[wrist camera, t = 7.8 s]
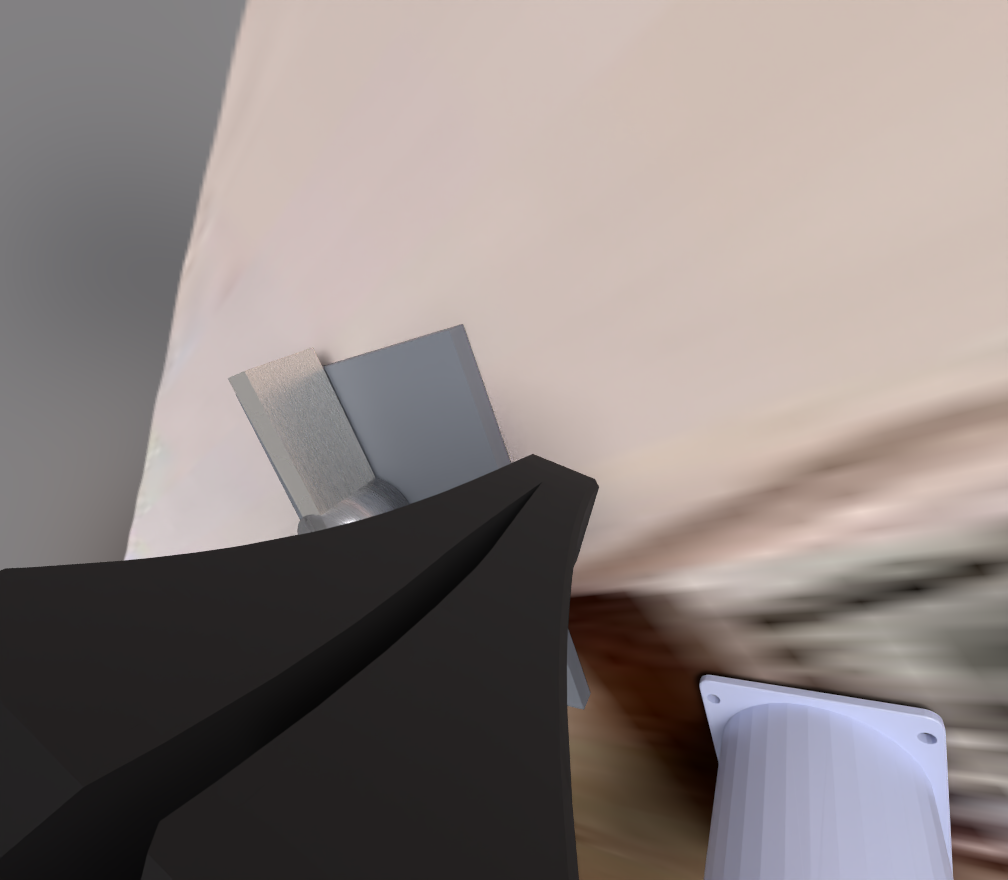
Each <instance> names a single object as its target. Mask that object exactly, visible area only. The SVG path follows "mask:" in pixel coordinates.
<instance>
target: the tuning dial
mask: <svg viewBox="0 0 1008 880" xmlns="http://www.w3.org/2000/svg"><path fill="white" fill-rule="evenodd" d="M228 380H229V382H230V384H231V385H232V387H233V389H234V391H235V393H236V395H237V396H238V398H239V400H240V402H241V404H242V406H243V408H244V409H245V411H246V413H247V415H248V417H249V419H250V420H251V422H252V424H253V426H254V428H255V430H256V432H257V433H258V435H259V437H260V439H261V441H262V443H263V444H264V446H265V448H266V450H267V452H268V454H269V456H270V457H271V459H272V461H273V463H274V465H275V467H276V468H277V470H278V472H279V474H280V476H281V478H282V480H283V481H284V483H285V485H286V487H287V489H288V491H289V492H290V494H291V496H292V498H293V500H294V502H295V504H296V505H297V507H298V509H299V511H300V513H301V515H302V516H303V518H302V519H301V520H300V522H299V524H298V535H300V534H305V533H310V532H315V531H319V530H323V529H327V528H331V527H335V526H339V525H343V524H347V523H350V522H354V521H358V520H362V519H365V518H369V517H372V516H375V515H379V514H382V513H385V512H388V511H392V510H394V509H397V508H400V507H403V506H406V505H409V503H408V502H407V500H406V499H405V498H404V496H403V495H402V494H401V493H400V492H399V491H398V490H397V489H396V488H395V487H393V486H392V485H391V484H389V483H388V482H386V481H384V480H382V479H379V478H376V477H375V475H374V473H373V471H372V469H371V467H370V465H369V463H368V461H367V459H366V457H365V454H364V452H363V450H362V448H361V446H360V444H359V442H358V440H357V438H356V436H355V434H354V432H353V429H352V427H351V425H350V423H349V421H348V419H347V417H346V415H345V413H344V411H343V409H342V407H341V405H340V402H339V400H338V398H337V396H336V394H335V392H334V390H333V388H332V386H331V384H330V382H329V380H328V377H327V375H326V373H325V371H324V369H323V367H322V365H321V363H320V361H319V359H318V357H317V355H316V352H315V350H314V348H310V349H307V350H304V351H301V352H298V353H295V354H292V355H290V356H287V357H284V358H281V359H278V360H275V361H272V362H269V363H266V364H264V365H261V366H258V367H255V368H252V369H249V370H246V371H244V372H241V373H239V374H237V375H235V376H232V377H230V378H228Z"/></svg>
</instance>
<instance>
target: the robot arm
mask: <svg viewBox="0 0 1008 880" xmlns="http://www.w3.org/2000/svg"><path fill="white" fill-rule="evenodd" d="M598 489H599V486H598V484H597V482H596V480H595V479H593V478H591V477H588V476H586V475H583V474H581V473H578V472H576V471H574V470H571V469H569V468H566V467H564V466H561V465H559V464H556V463H554V462H551V461H549V460H546V459H544V458H542V457H539V456H537V455H534V454H532V455H530V456H527V457H525V458H523V459H520V460H518V461H515V462H513V463H511V464H508V465H506V466H504V467H502V468H499V469H497V470H495V471H492V472H490V473H488V474H485V475H483V476H481V477H479V478H476V479H474V480H471V481H469V482H467V483H464V484H462V485H459V486H457V487H454V488H452V489H449V490H447V491H445V492H442V493H440V494H437V495H434V496H431V497H428V498H425V499H423V500H420V501H417V502H414V503H411V504H409V505H406V506H403V507H400V508H397V509H394V510H392V511H388V512H385V513H382V514H379V515H375V516H372V517H369V518H365V519H362V520H358V521H354V522H350V523H347V524H343V525H339V526H335V527H331V528H327V529H323V530H319V531H315V532H310V533H305V534H300V535H295V536H290V537H284V538H279V539H274V540H269V541H264V542H259V543H254V544H249V545H243V546H237V547H231V548H224V549H217V550H210V551H203V552H197V553H189V554H180V555H172V556H164V557H155V558H146V559H136V560H126V561H115V562H100V563H87V564H72V565H58V566H45V567H29V568H9V569H3V570H1V571H0V880H579V875H578V864H577V852H576V841H575V830H574V819H573V807H572V791H571V772H570V753H569V735H568V716H567V640H568V619H569V605H570V594H571V583H572V575H573V567H574V565H575V563H576V561H577V558H578V555H579V551H580V548H581V545H582V541H583V538H584V535H585V532H586V528H587V525H588V522H589V518H590V515H591V512H592V508H593V505H594V502H595V499H596V495H597V492H598ZM699 688H700V692H701V695H702V699H703V703H704V707H705V711H706V715H707V719H708V723H709V727H710V731H711V735H712V739H713V743H714V747H715V751H716V755H717V759H718V763H719V765H718V773H717V781H716V788H715V796H714V804H713V811H712V819H711V827H710V834H709V842H708V850H707V857H706V865H705V873H704V880H954V879H953V869H952V849H951V830H950V810H949V791H948V771H947V751H946V732H945V727H944V723H943V720H942V718H941V717H940V716H939V715H938V714H936V713H934V712H932V711H930V710H927V709H922V708H916V707H910V706H903V705H897V704H891V703H885V702H878V701H872V700H866V699H859V698H853V697H847V696H841V695H834V694H828V693H822V692H815V691H809V690H803V689H797V688H790V687H784V686H778V685H771V684H765V683H759V682H753V681H746V680H740V679H734V678H727V677H721V676H715V675H704V676H702V677H701V679H700V684H699ZM712 694H713V695H712ZM715 695H716V696H715ZM924 733H929V734H924Z"/></svg>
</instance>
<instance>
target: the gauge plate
mask: <svg viewBox="0 0 1008 880" xmlns="http://www.w3.org/2000/svg"><path fill="white" fill-rule="evenodd" d="M322 367H323V369H324V371H325V373H326V375H327V377H328V380H329V382H330V384H331V386H332V388H333V390H334V392H335V394H336V396H337V398H338V400H339V402H340V405H341V407H342V409H343V411H344V413H345V415H346V417H347V419H348V421H349V423H350V425H351V427H352V429H353V432H354V434H355V436H356V438H357V440H358V442H359V444H360V446H361V448H362V450H363V452H364V454H365V457H366V459H367V461H368V463H369V465H370V467H371V469H372V471H373V473H374V475H375V477H376V478H379V479H382V480H384V481H386V482H388V483H389V484H391V485H392V486H393V487H395V488H396V489H397V490H398V491H399V492H400V493H401V494H402V495H403V496H404V498H405V499H406V500H407V502H408V503H409V504H411V503H414V502H417V501H420V500H423V499H425V498H428V497H431V496H434V495H437V494H440V493H442V492H445V491H447V490H449V489H452V488H454V487H457V486H459V485H462V484H464V483H467V482H469V481H471V480H474V479H476V478H479V477H481V476H483V475H485V474H488V473H490V472H492V471H495V470H497V469H499V468H502V467H504V466H506V465H508V464H511V462H510V459H509V456H508V453H507V450H506V447H505V445H504V442H503V439H502V436H501V433H500V430H499V427H498V424H497V421H496V419H495V416H494V413H493V410H492V407H491V404H490V401H489V398H488V395H487V392H486V390H485V387H484V384H483V381H482V378H481V375H480V372H479V369H478V366H477V364H476V361H475V358H474V355H473V352H472V349H471V346H470V343H469V340H468V337H467V335H466V332H465V329H464V326H463V324H461V325H458V326H454V327H451V328H448V329H444V330H441V331H438V332H434V333H431V334H428V335H425V336H421V337H418V338H415V339H411V340H408V341H405V342H401V343H398V344H395V345H391V346H388V347H385V348H381V349H378V350H375V351H372V352H368V353H365V354H362V355H358V356H355V357H352V358H348V359H345V360H342V361H338V362H335V363H332V364H328V365H325V366H322ZM236 396H237V395H236ZM237 398H238V396H237ZM238 400H239V398H238ZM239 402H240V400H239ZM240 404H241V402H240ZM241 406H242V404H241ZM242 408H243V406H242ZM243 410H244V412H245V413H246V411H245V409H244V408H243ZM246 415H247V413H246ZM247 417H248V415H247ZM248 419H249V417H248ZM249 421H250V423H251V425H252V427H253V429H254V431H255V433H256V435H257V437H258V439H259V441H260V443H261V445H262V447H263V449H264V450H265V452H266V454H267V456H268V458H269V460H270V462H271V464H272V466H273V468H274V470H275V472H276V474H277V476H278V478H279V480H280V482H281V484H282V486H283V487H284V489H285V491H286V493H287V495H288V497H289V499H290V501H291V503H292V505H293V507H294V509H295V511H296V513H297V515H298V517H299V519H300V520H301V519H302V518H303V516H302V515H301V513H300V511H299V509H298V507H297V505H296V504H295V502H294V500H293V498H292V496H291V494H290V492H289V491H288V489H287V487H286V485H285V483H284V481H283V480H282V478H281V476H280V474H279V472H278V470H277V468H276V467H275V465H274V463H273V461H272V459H271V457H270V456H269V454H268V452H267V450H266V448H265V446H264V444H263V443H262V441H261V439H260V437H259V435H258V433H257V432H256V430H255V428H254V426H253V424H252V422H251V420H250V419H249ZM589 696H590V691H589V688H588V685H587V682H586V679H585V676H584V673H583V670H582V667H581V665H580V662H579V659H578V656H577V653H576V650H575V647H574V644H573V641H572V638H571V636H570V633H569V630H568V640H567V706H571V707H575V708H580V709H584V708H585V706H586V703H587V701H588V698H589Z"/></svg>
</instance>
